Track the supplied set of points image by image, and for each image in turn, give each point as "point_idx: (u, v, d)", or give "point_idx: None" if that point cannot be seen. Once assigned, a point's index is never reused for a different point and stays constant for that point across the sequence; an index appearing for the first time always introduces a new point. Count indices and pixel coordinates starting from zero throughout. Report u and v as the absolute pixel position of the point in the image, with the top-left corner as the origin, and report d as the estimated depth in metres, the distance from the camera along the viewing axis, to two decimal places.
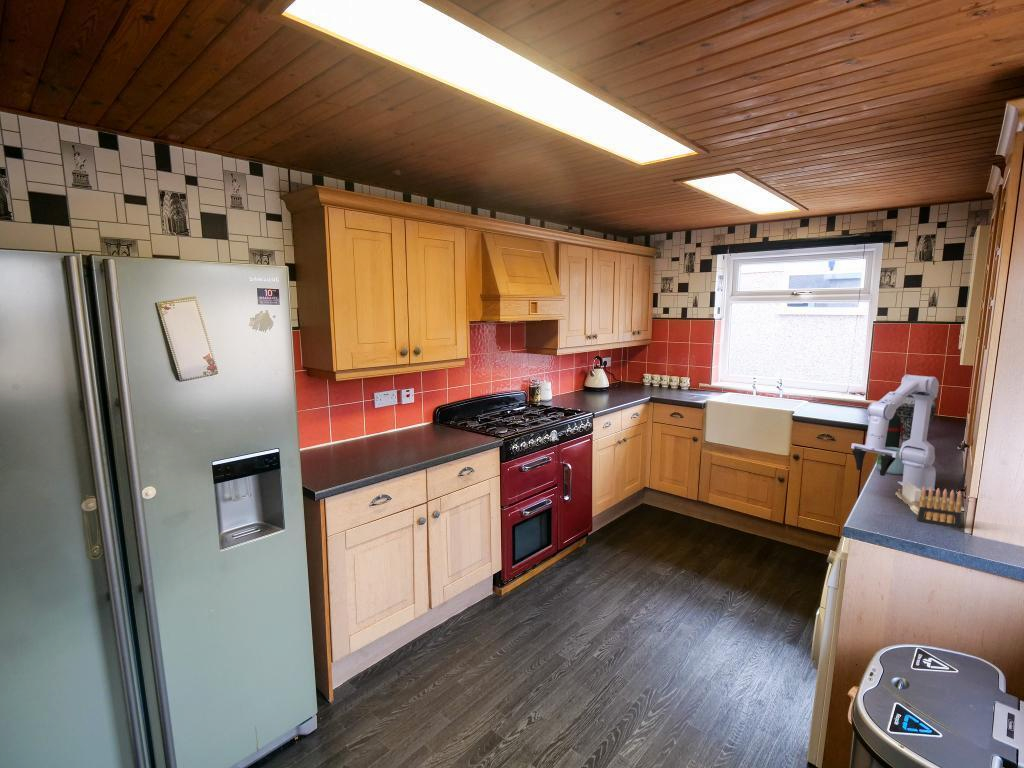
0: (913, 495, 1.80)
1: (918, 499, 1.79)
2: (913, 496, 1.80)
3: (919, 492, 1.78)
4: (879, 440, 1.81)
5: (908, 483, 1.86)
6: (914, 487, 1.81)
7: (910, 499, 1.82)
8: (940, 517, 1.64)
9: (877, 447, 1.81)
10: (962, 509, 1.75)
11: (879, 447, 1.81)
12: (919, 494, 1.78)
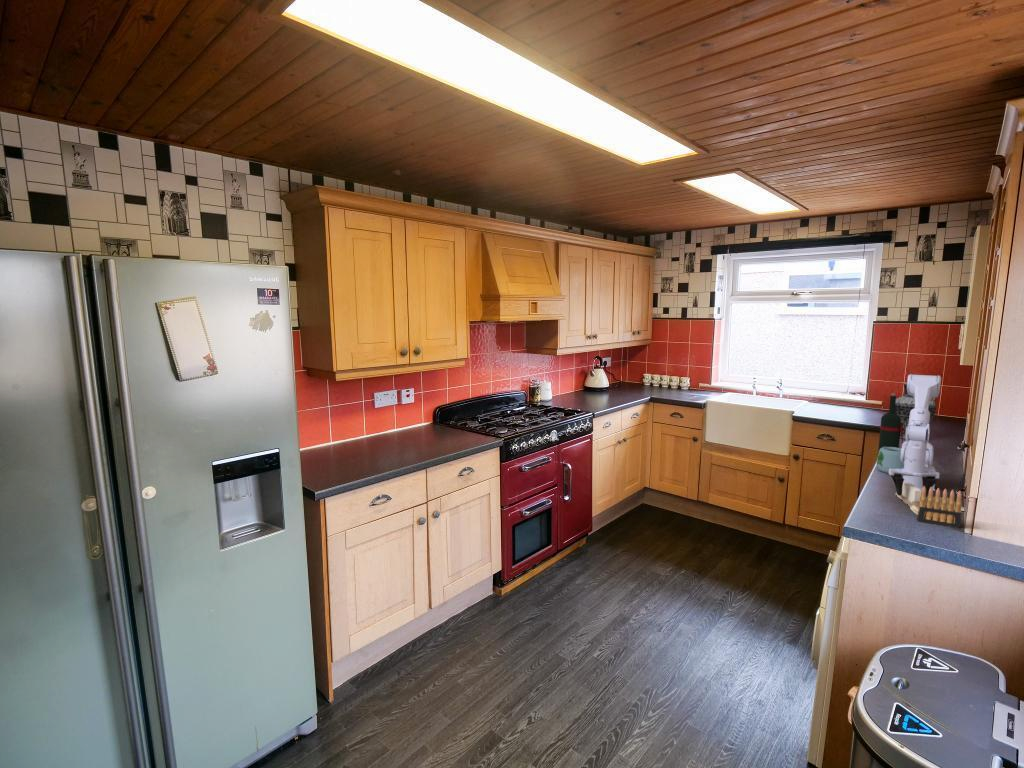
0: (913, 495, 1.80)
1: (918, 499, 1.79)
2: (913, 496, 1.80)
3: (919, 492, 1.78)
4: (924, 464, 1.79)
5: (908, 483, 1.86)
6: (914, 487, 1.81)
7: (910, 499, 1.82)
8: (940, 517, 1.64)
9: (923, 471, 1.80)
10: (962, 509, 1.75)
11: (923, 471, 1.80)
12: (919, 494, 1.78)
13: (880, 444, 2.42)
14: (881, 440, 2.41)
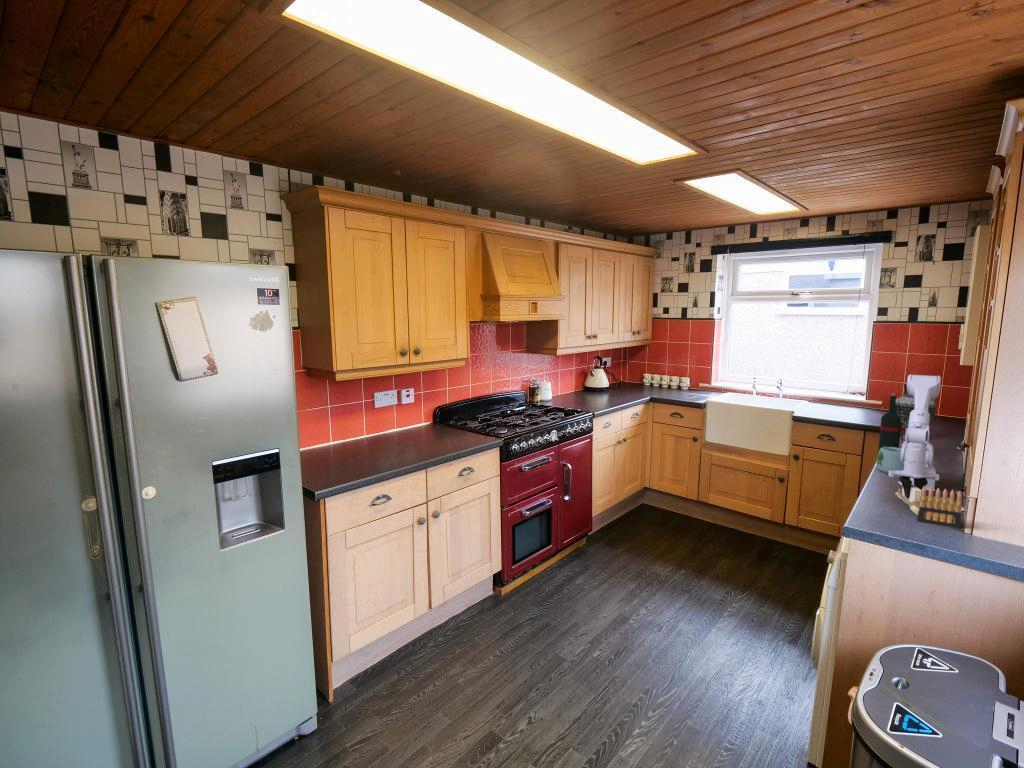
0: (913, 495, 1.80)
1: (918, 499, 1.79)
2: (913, 496, 1.80)
3: (919, 492, 1.78)
4: (923, 466, 1.79)
5: None
6: (914, 487, 1.81)
7: (910, 499, 1.82)
8: (940, 517, 1.64)
9: (923, 473, 1.80)
10: (962, 509, 1.75)
11: (923, 473, 1.80)
12: (919, 494, 1.78)
13: (880, 444, 2.42)
14: (881, 440, 2.41)
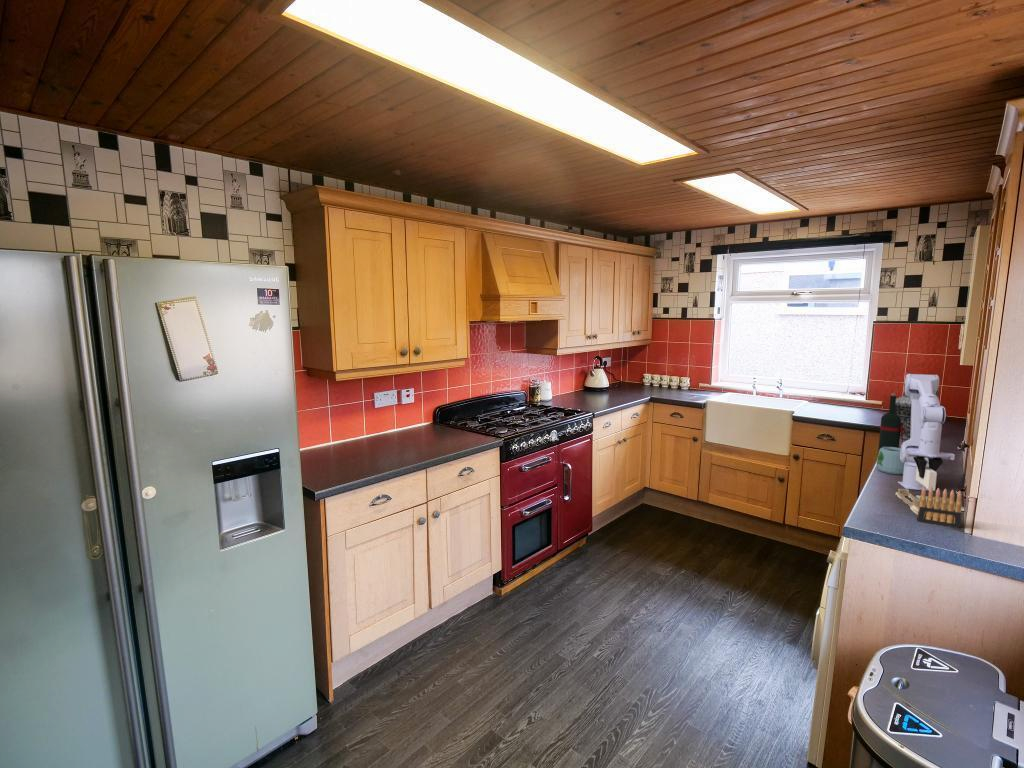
0: (927, 477, 1.78)
1: (933, 480, 1.77)
2: (928, 478, 1.78)
3: (934, 473, 1.76)
4: (939, 445, 1.77)
5: None
6: (928, 469, 1.79)
7: (924, 481, 1.80)
8: (940, 517, 1.64)
9: (938, 452, 1.78)
10: (962, 509, 1.75)
11: (938, 452, 1.78)
12: (934, 475, 1.76)
13: (880, 444, 2.42)
14: (881, 440, 2.41)
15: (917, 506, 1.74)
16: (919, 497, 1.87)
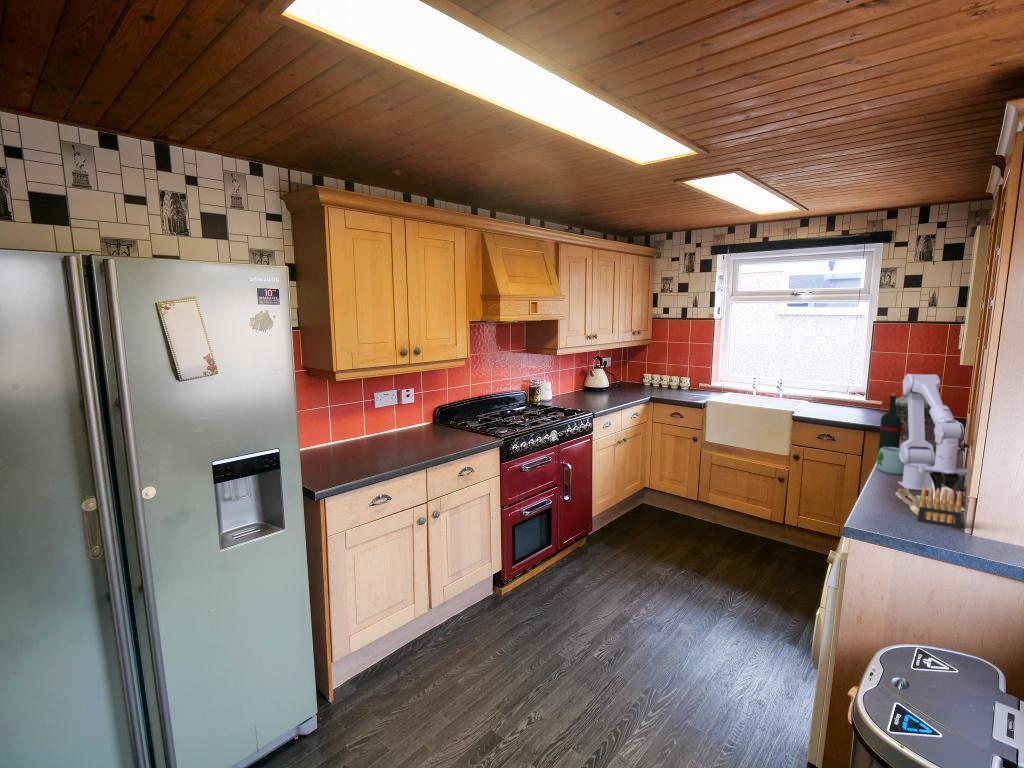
0: None
1: None
2: None
3: (950, 491, 1.76)
4: (955, 461, 1.76)
5: None
6: (944, 487, 1.79)
7: (940, 498, 1.79)
8: (940, 517, 1.64)
9: (954, 469, 1.77)
10: (962, 509, 1.75)
11: (955, 468, 1.77)
12: None
13: (880, 444, 2.42)
14: (881, 440, 2.41)
15: (917, 506, 1.74)
16: (919, 497, 1.87)
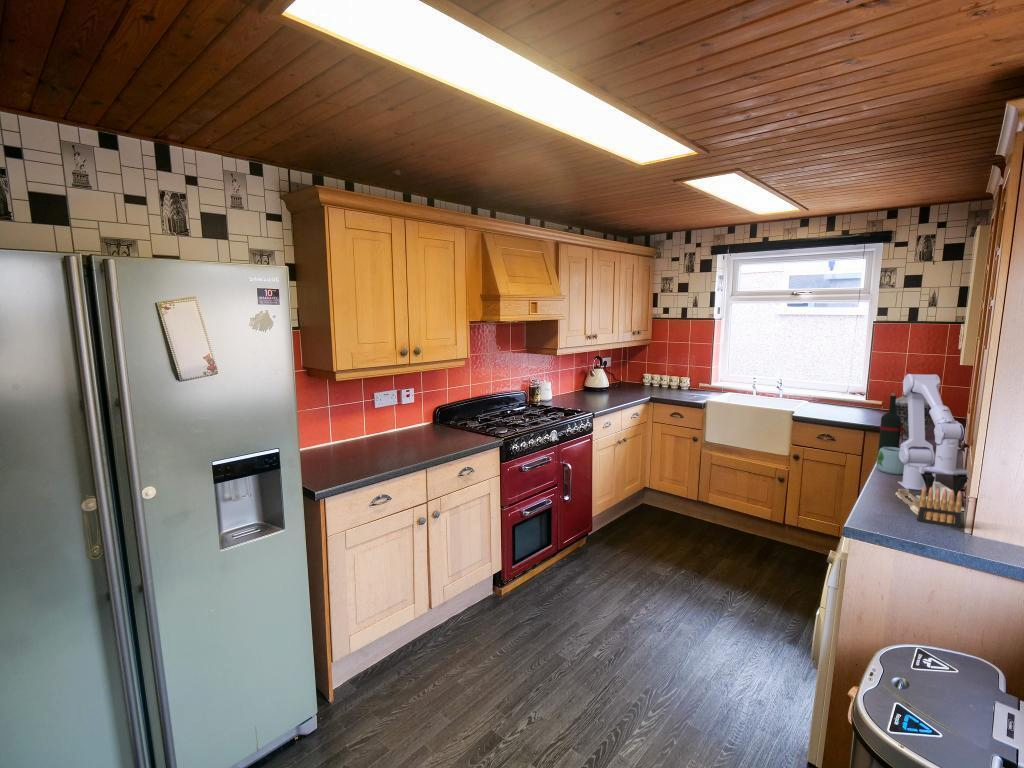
0: None
1: None
2: None
3: (950, 492, 1.76)
4: (955, 462, 1.77)
5: (938, 483, 1.84)
6: (944, 487, 1.79)
7: (940, 499, 1.79)
8: (940, 517, 1.64)
9: (954, 469, 1.77)
10: (962, 509, 1.75)
11: (955, 469, 1.77)
12: None
13: (880, 444, 2.42)
14: (881, 440, 2.41)
15: (917, 506, 1.74)
16: (919, 497, 1.87)
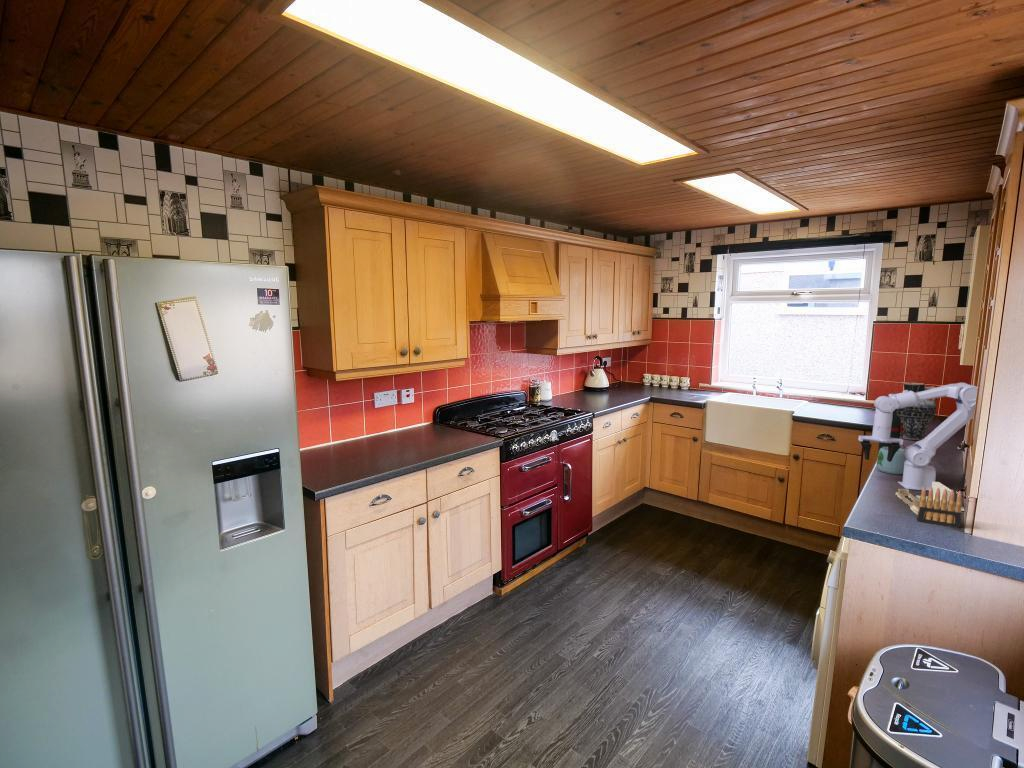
0: None
1: None
2: None
3: (950, 492, 1.76)
4: (889, 431, 1.99)
5: (938, 483, 1.84)
6: (944, 487, 1.79)
7: (940, 499, 1.79)
8: (940, 517, 1.64)
9: (888, 438, 1.99)
10: (962, 509, 1.75)
11: (889, 437, 1.99)
12: None
13: (880, 444, 2.42)
14: None
15: (917, 506, 1.74)
16: (919, 497, 1.87)
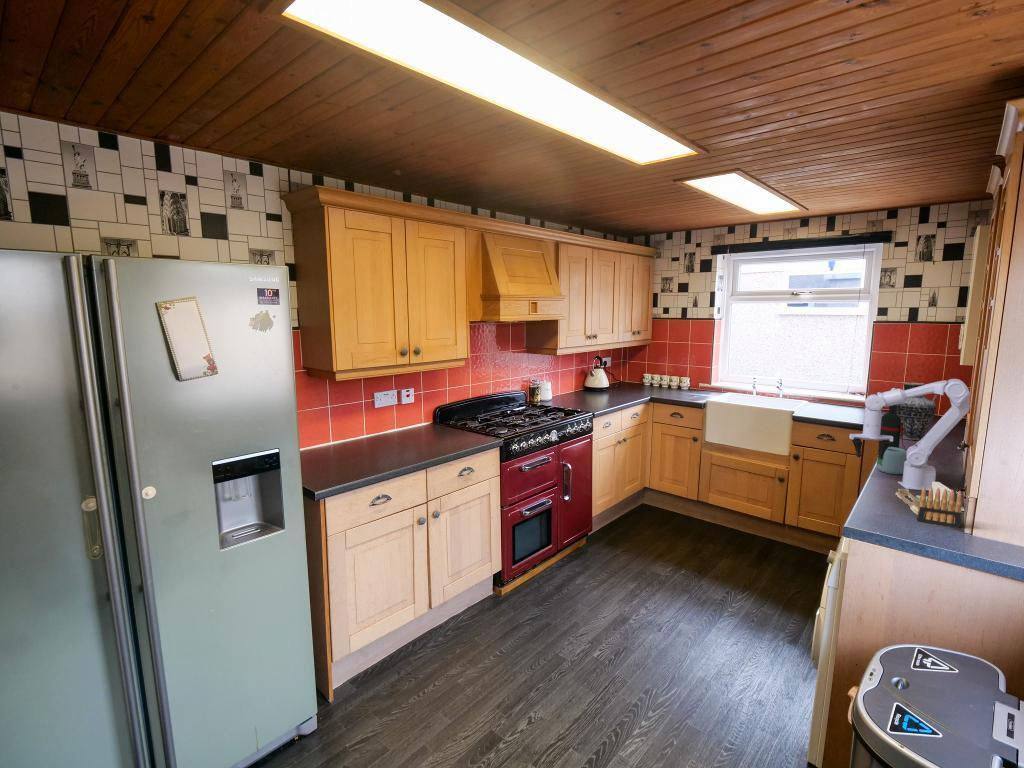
0: None
1: None
2: None
3: (950, 492, 1.76)
4: (879, 429, 2.03)
5: (938, 483, 1.84)
6: (944, 487, 1.79)
7: (940, 499, 1.79)
8: (940, 517, 1.64)
9: (878, 435, 2.03)
10: (962, 509, 1.75)
11: (879, 435, 2.03)
12: None
13: None
14: None
15: (917, 506, 1.74)
16: (919, 497, 1.87)
